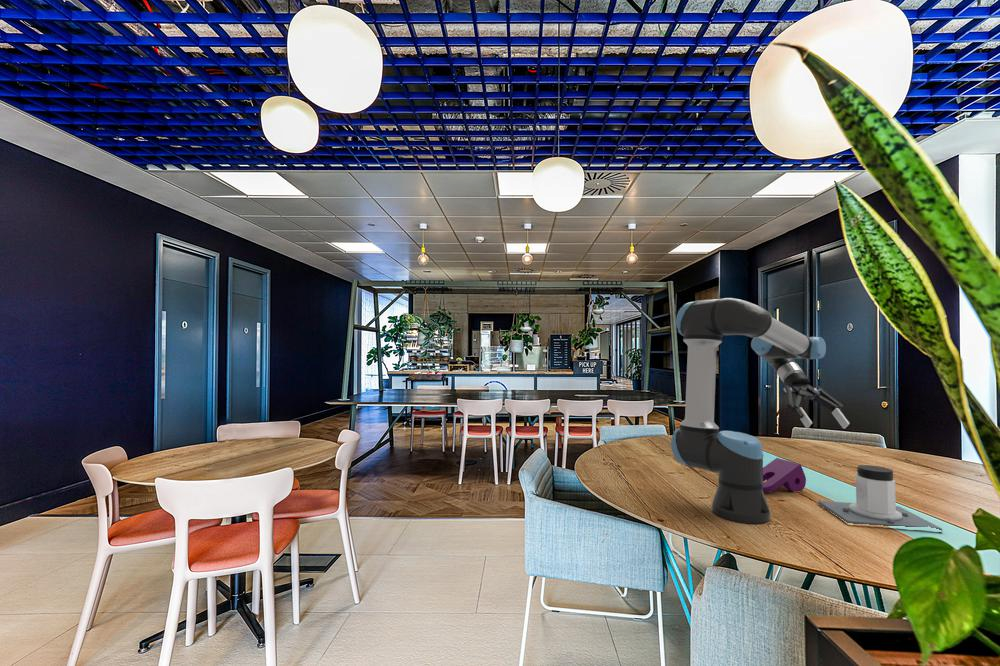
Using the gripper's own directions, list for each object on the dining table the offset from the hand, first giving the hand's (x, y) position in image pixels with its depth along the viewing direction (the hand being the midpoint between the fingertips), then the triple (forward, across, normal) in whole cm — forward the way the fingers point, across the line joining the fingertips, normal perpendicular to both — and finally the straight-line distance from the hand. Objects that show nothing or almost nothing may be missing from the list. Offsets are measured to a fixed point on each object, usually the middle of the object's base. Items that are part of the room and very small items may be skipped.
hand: (828, 425), depth 151 cm
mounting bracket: (+9, +11, -25) cm, 29 cm away
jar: (+28, 0, -3) cm, 28 cm away
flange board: (+29, +1, -5) cm, 29 cm away
